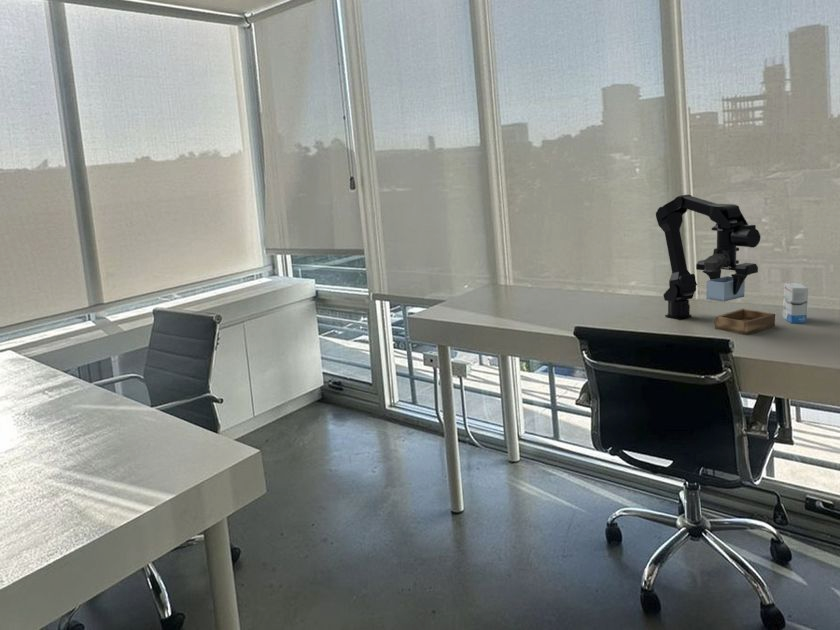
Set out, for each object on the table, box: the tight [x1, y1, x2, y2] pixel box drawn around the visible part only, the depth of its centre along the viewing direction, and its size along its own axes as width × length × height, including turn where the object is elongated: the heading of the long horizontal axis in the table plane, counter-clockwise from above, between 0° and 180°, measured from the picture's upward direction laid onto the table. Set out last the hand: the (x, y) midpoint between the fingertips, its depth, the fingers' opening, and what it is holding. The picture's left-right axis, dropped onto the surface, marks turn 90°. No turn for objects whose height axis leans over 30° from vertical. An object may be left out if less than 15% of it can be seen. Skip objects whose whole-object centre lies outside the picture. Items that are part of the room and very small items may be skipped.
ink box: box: [782, 282, 809, 324], centre depth 223 cm, size 8×5×12 cm, turn 168°
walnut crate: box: [714, 308, 776, 336], centre depth 220 cm, size 11×15×4 cm
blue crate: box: [705, 275, 746, 303], centre depth 218 cm, size 6×10×6 cm, turn 119°
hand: (725, 293), depth 218 cm, fingers closed on blue crate, 6 cm apart
